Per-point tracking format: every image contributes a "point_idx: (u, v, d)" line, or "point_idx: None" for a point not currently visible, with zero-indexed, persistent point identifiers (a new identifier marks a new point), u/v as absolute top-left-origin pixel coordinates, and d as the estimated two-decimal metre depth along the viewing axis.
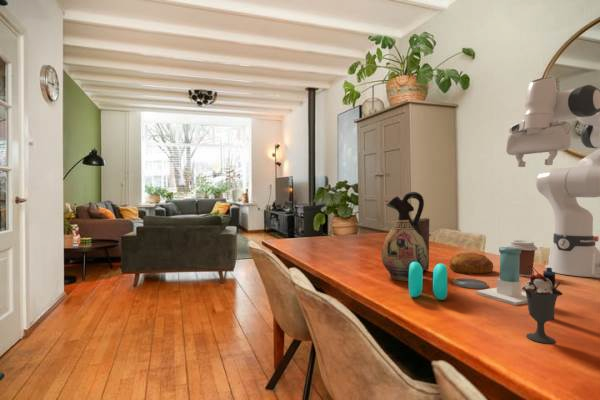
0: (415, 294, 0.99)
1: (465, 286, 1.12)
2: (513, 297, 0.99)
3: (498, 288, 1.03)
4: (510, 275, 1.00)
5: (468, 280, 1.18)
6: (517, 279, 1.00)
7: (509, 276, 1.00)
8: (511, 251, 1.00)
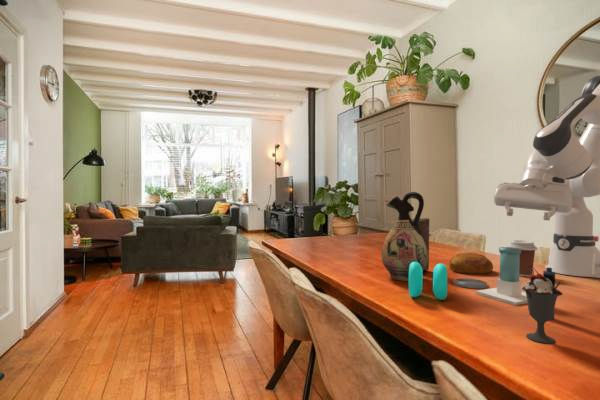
0: (415, 294, 0.99)
1: (465, 286, 1.12)
2: (513, 297, 0.99)
3: (498, 288, 1.03)
4: (510, 275, 1.00)
5: (468, 280, 1.18)
6: (517, 279, 1.00)
7: (509, 276, 1.00)
8: (511, 251, 1.00)
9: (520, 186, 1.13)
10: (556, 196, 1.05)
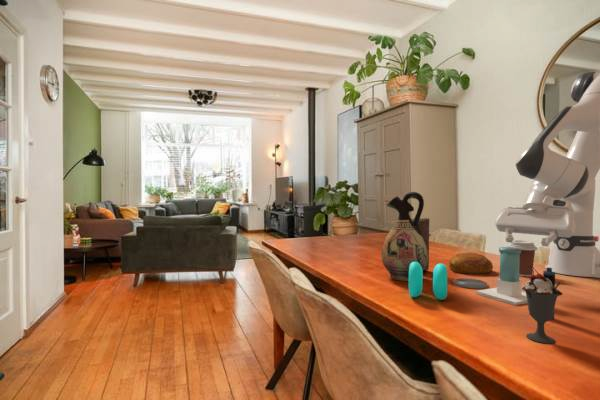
0: (415, 294, 0.99)
1: (465, 286, 1.12)
2: (513, 297, 0.99)
3: (498, 288, 1.03)
4: (510, 275, 1.00)
5: (468, 280, 1.18)
6: (517, 279, 1.00)
7: (509, 276, 1.00)
8: (511, 251, 1.00)
9: (522, 211, 1.11)
10: (556, 220, 1.02)
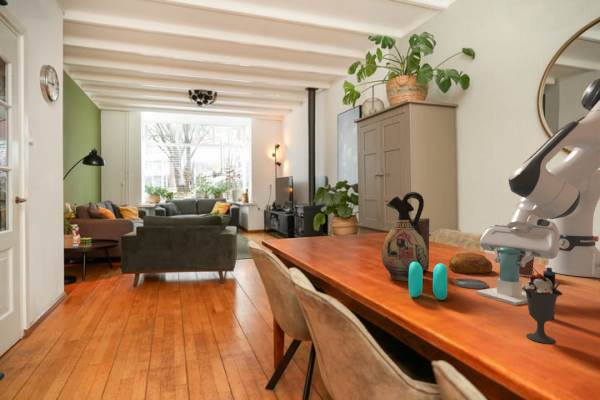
0: (415, 294, 0.99)
1: (465, 286, 1.12)
2: (513, 297, 0.99)
3: (498, 288, 1.03)
4: (510, 275, 1.00)
5: (468, 280, 1.18)
6: (517, 279, 1.00)
7: (509, 276, 1.00)
8: (511, 251, 1.00)
9: (506, 229, 1.08)
10: (539, 241, 0.99)
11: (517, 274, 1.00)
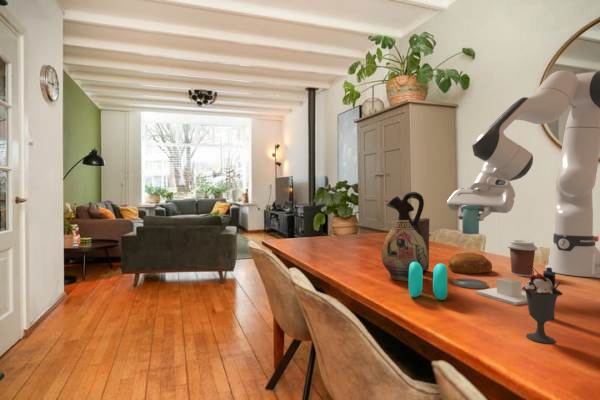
0: (415, 294, 0.99)
1: (465, 286, 1.12)
2: (513, 297, 0.99)
3: (498, 288, 1.03)
4: (471, 228, 1.13)
5: (468, 280, 1.18)
6: (477, 232, 1.13)
7: (469, 229, 1.13)
8: (471, 207, 1.12)
9: (470, 191, 1.21)
10: (496, 198, 1.12)
11: (477, 227, 1.13)
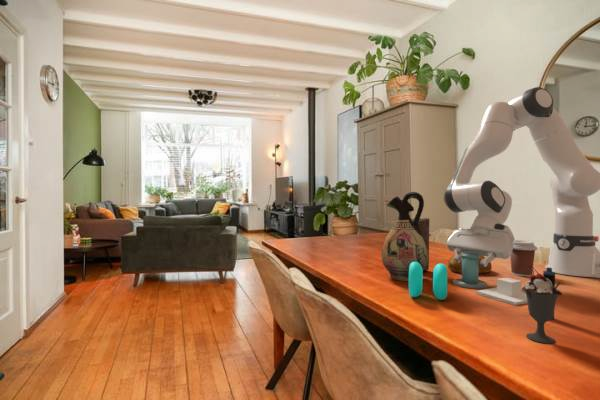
0: (415, 294, 0.99)
1: (465, 286, 1.12)
2: (513, 297, 0.99)
3: (498, 288, 1.03)
4: (470, 277, 1.13)
5: None
6: (476, 281, 1.13)
7: (469, 278, 1.13)
8: (470, 257, 1.13)
9: (469, 232, 1.21)
10: (495, 243, 1.12)
11: (476, 277, 1.13)
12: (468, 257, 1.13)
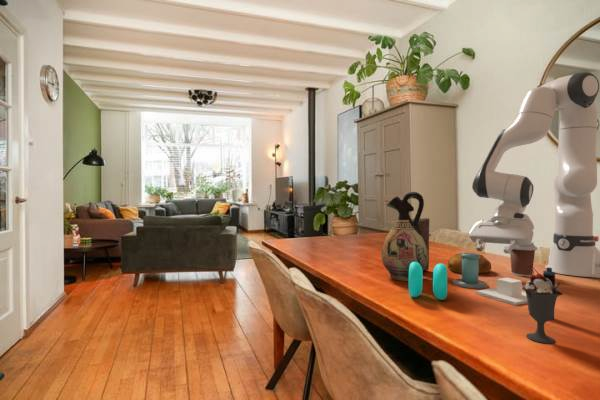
0: (415, 294, 0.99)
1: (465, 286, 1.12)
2: (513, 297, 0.99)
3: (498, 288, 1.03)
4: (470, 277, 1.13)
5: None
6: (476, 281, 1.13)
7: (469, 278, 1.13)
8: (470, 257, 1.13)
9: (490, 223, 1.29)
10: (516, 231, 1.20)
11: (476, 277, 1.13)
12: (468, 257, 1.13)
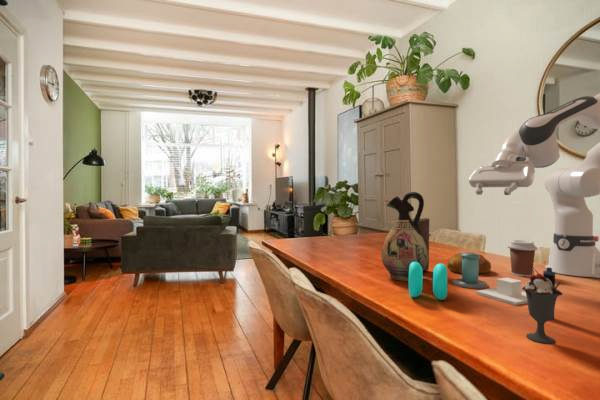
0: (415, 294, 0.99)
1: (465, 286, 1.12)
2: (513, 297, 0.99)
3: (498, 288, 1.03)
4: (470, 277, 1.13)
5: None
6: (476, 281, 1.13)
7: (469, 278, 1.13)
8: (470, 257, 1.13)
9: (491, 168, 1.28)
10: (517, 173, 1.19)
11: (476, 277, 1.13)
12: (468, 257, 1.13)
